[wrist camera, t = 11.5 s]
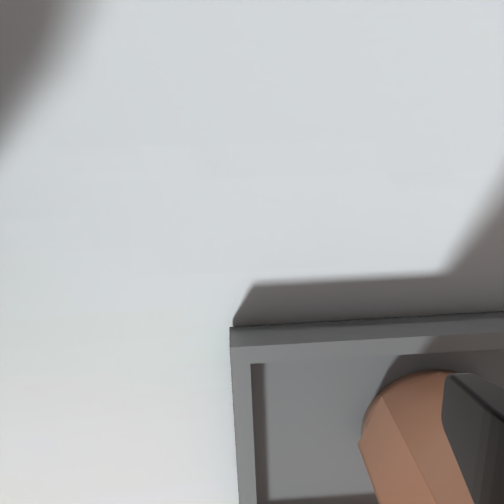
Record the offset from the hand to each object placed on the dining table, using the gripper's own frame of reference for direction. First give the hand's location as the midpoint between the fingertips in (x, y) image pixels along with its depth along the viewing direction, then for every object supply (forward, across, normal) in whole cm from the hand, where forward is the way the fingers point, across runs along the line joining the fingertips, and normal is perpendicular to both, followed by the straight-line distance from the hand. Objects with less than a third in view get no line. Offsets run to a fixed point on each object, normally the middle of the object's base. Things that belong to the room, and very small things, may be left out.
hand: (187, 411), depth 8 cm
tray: (+12, -8, +10) cm, 18 cm away
